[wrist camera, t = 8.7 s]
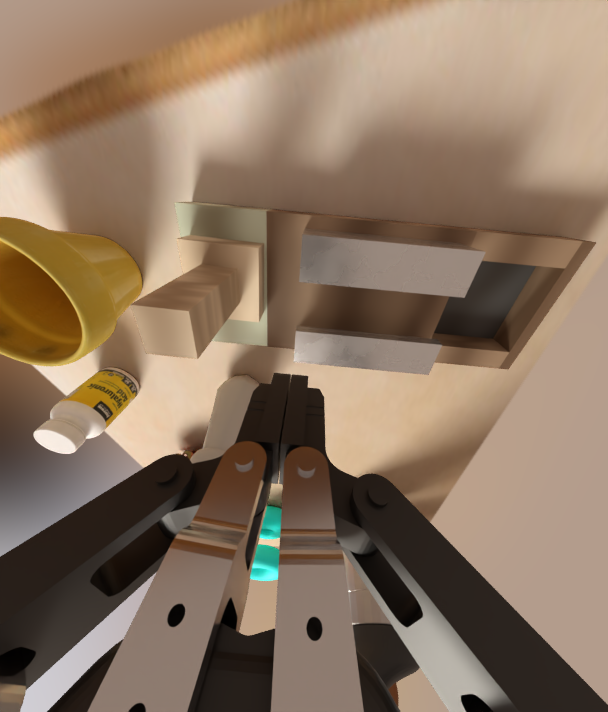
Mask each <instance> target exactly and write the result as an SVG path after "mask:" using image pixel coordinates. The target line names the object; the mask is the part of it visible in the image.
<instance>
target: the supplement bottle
mask: <svg viewBox="0 0 608 712" xmlns="http://www.w3.org/2000/svg"><path fill="white" fill-rule="evenodd" d="M138 393H139V384H138V382H137V381H136V379H135V378H134V377H133V376H131V375H130V374H129V373H127V372H125V371H123V370H121V369H118V368H113V367H109V368H104V369H102V370H100V371H99V372H97V373H96V374H95V375H93V376H92V377H91V378H90V379H88V380H87V381H86V382H84V383H83V384H82V385H81V386H79V387H78V388H77V389H75V390H74V391H73V392H72V393H70V394H69V395H68V396H66V397H65V398H64V399H62V400H61V401H60V402H59V403H57V405H55V406H54V407H53V408H52V410H51V413H50V417H51V419H50V420H48V421H47V422H45V423H44V424H43V425H42V426H40V427H39V428H38V429H37V430H36V431H35V432H34V438H35V439H36V441H37V442H38V443H39V444H41V445H42V446H44V447H45V448H47V449H49V450H51V451H54V452H58V453H63V454H70V453H73V452H75V451H76V450H77V449H78V448H79V447H80V446H81V445H82V444H83V443H84V441H85V440H86V438H93V437H96V436H98V435H100V434H101V433H102V432H103V431H104V430H105V429H106V428H107V427H108V426H109V425H110V424H111V423H112V421H113V420H114V419H115V418H116V417H117V416H118V415H119V414H120V413H121V412H122V411H123V410H124V409H125V408H126V407H127V406H128V405H129V403H130V402H131V401H132V400H133V399H134V398H135V397H136V396H137V394H138Z"/></svg>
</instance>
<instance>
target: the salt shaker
mask: <svg viewBox="0 0 608 712" xmlns="http://www.w3.org/2000/svg"><path fill="white" fill-rule="evenodd" d="M258 386H259V383H258V382H257V381H256V380H254V379H253V378H251V377H250V376H249V375H238V376H233V377H231V378H230V379H228V380H226V381H225V382H224V383H223V384H222V385H221V386H220V387H219V388H218V390H217V394H216V398H215V403H214V407H213V411H212V415H211V419H210V422H209V426H208V430H207V434H206V437H205V441H204V445H203V449H199V450H198V451H197V452H196V453H195V454H194V455H193V456H192V457H191V459H190V461H191V462H192V463H197V462H202V461H207V460H211V459H215V458H217V457H220V456H222V455H223V454H224V453H225V452H226V451H227V449H229V448H230V447H231V446H232V445H234V443H235V441H236V439H237V436H238V433H239V430H240V428H241V425H242V422H243V419H244V416H245V413H246V410H247V407H248V405H249V402H250V399H251V396H252V393H253V391H254V390H255V389H256V388H257V387H258Z"/></svg>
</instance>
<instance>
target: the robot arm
mask: <svg viewBox="0 0 608 712" xmlns="http://www.w3.org/2000/svg"><path fill="white" fill-rule="evenodd" d="M290 380H291V383H290ZM307 386H308V376H302V375H292V377H291V374H280V373H274V375H273V379H272V382H271V384H262V383H261V384H260V385H259V386H258V387H257V388H256V389H255V390H254V391H253V393H252V396H251V399H250V402H249V405H248V407H247V410H246V413H245V416H244V419H243V422H242V425H241V428H240V430H239V433H238V436H237V439H236V441H235V443H234V445H232V446H231V447H230V448H229V449H227V451H226V452H225V453H224V454H223V455H222V456H220V457H217V458H215V459H211V460H207V461H202V462H197V463H192V462H191V461H190V459H189V458H187V457H186V456H183V455H179V454H173V455H168V456H165V457H162V458H160V459H158V460H156V461H155V462H153V463H151V464H150V465H148V466H147V467H145V468H143V469H142V470H140V471H138V472H137V473H135V474H134V475H132V476H130V477H129V478H127V479H126V480H124V481H123V482H121V483H119V484H117V485H116V486H114V487H113V488H111V489H109V490H108V491H106V492H104V493H103V494H101V495H100V496H98V497H96V498H95V499H93V500H92V501H90V502H88V503H87V504H85V505H83V506H82V507H80V508H79V509H77V510H75V511H74V512H72V513H71V514H69V515H67V516H66V517H64V518H62V519H61V520H59V521H58V522H56V523H54V524H53V525H51V526H50V527H48V528H46V529H45V530H43V531H41V532H40V533H39V534H36V535H35V536H33V537H32V538H30V539H29V540H27V541H25V542H24V543H22V544H20V545H19V546H17V547H16V548H14V549H12V550H11V551H9V552H7V553H6V554H4V555H2V556H1V557H0V712H20V709H21V706H22V704H23V700H24V696H25V691H26V689H27V688H29V687H30V686H31V685H32V684H33V683H34V682H35V681H36V680H37V679H38V678H40V677H41V676H42V675H43V674H44V673H45V672H46V671H47V670H49V669H50V668H51V667H52V666H53V665H54V664H55V663H56V662H57V661H58V660H60V659H61V658H62V657H63V656H64V655H65V654H66V653H67V652H68V651H69V650H71V649H72V648H73V647H74V646H75V645H76V644H77V643H78V642H79V641H80V640H82V639H83V638H84V637H85V636H86V635H87V634H88V633H89V632H90V631H91V630H93V629H94V628H95V627H96V626H97V625H98V624H99V623H100V622H102V621H103V620H104V619H105V618H106V617H107V616H108V615H109V614H110V613H111V612H113V611H114V610H115V609H116V608H117V607H118V606H119V605H120V604H121V603H122V602H124V600H126V599H127V598H128V597H129V596H130V595H131V594H132V593H134V592H135V591H136V590H137V589H138V588H139V587H140V586H141V585H142V584H143V583H144V582H146V581H147V580H148V579H149V578H150V577H151V576H152V575H153V574H155V573H156V572H157V573H156V575H155V577H154V579H153V581H152V583H151V585H150V587H149V589H148V591H147V593H146V595H145V597H144V599H143V601H142V603H141V605H140V607H139V610H138V611H137V613H136V615H135V617H134V619H133V621H132V623H131V625H130V627H129V630H128V631H127V634H126V635H125V637H124V639H123V640H121V641H120V642H119V643H118V644H116V645H115V646H113V647H112V648H111V649H110V650H109V651H108V652H107V653H105V654H104V655H103V656H102V657H101V658H100V659H98V660H97V662H95V663H94V664H93V665H92V666H91V667H90V669H88V670H87V671H86V672H85V673H84V674H83V675H82V676H81V678H80V679H79V680H78V681H77V682H76V683H75V684H74V685H73V686H72V687H71V688H70V689H69V690H68V691H67V692H66V693H65V694H64V695H63V696H62V697H61V698H60V699H59V700H58V701H57V702H56V703H55V704H54V705H53V706H52V707H51V708H50V709H49V710H48V711H47V712H400V710H399V708H398V706H397V705H396V703H395V701H394V699H393V697H392V695H391V694H390V692H389V690H388V689H389V688H390V687H391V686H392V685H393V684H394V683H396V682H398V681H399V680H401V679H402V678H404V677H406V676H408V675H410V674H412V673H414V672H416V671H417V670H418V669H419V668H421V670H422V671H423V673H424V674H425V676H426V677H427V679H428V680H429V682H430V683H431V684H432V686H433V688H434V689H435V690H436V692H437V694H438V695H439V697H440V698H441V700H442V701H443V703H444V704H445V706H446V707H447V709H448V710H449V712H608V705H607V704H606V703H605V702H604V701H603V700H602V699H601V698H600V697H599V696H598V695H597V693H595V691H594V690H593V689H592V688H591V687H590V686H589V685H588V684H587V683H586V682H585V681H584V680H583V679H582V678H581V677H580V676H579V675H578V674H577V673H576V672H575V671H574V670H573V669H572V668H571V667H570V666H569V665H568V664H567V663H566V662H565V661H564V660H563V659H562V658H561V657H560V656H559V655H558V653H557V652H556V651H555V650H553V648H552V647H551V646H550V645H549V644H548V643H547V642H546V641H545V640H544V639H543V638H542V637H541V636H540V635H539V634H538V633H537V632H536V631H535V630H534V629H533V628H532V627H531V626H530V625H529V624H528V623H527V622H526V621H525V620H524V619H523V618H522V617H521V616H520V614H519V613H518V612H517V611H515V610H514V608H513V607H512V606H511V605H510V604H509V603H508V602H507V601H506V600H505V599H504V598H503V597H502V596H501V595H500V594H499V593H498V592H497V591H496V590H495V589H494V588H493V587H492V586H491V585H490V584H489V583H488V582H487V581H486V580H485V578H483V577H482V576H481V574H480V573H479V572H478V571H476V569H475V568H474V567H473V566H472V565H471V564H470V563H469V562H468V561H467V560H466V559H465V558H464V557H463V556H462V555H461V554H460V553H459V552H458V551H457V550H456V549H455V548H454V547H453V546H452V545H451V544H450V543H449V542H448V540H446V539H445V538H444V536H443V535H442V534H441V533H440V532H439V531H438V530H437V529H436V528H435V527H434V526H433V525H432V524H431V523H430V522H429V521H428V520H427V519H426V518H425V517H424V516H423V515H422V514H421V513H420V512H419V511H418V510H417V509H416V508H415V507H414V506H413V505H412V504H411V502H410V501H409V500H408V499H407V498H406V497H405V496H404V495H403V494H402V493H401V492H400V491H399V490H398V489H397V488H396V487H395V486H394V485H393V484H392V483H391V482H390V481H388V480H387V479H386V478H384V477H382V476H379V475H376V474H365V475H362V476H361V477H359V478H356V477H354V476H352V475H349V474H347V473H345V472H343V471H341V470H339V469H337V468H336V467H335V466H334V465H333V464H332V463H331V462H330V460H329V459H328V457H327V454H326V450H325V417H324V415H325V414H324V396H323V395H322V393H321V391H320V390H319V389H316V388H307ZM279 470H280V480H279V484H283V493H282V511H281V530H280V549H279V568H278V587H277V588H278V589H277V605H276V625H275V629H272V630H268V631H265V632H261V633H258V634H255V635H250V636H246V635H243V634H241V633H239V630H240V625H241V621H242V617H243V613H244V608H245V604H246V600H247V594H248V589H249V581H250V575H251V570H252V566H253V561H254V557H255V553H256V549H257V545H258V541H259V537H260V533H261V529H262V525H263V520H264V516H265V512H266V508H267V503H268V499H269V494H270V488H271V483H275V484H278V477H279Z"/></svg>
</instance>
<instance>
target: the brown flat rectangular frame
mask: <svg viewBox="0 0 608 712" xmlns="http://www.w3.org/2000/svg"><path fill="white" fill-rule="evenodd" d="M174 204H175V210H176V215H177V220H178V226H179V231H180V236H181V237H184V236H188V235H196V236H205V237H213V238H222V239H231V240H239V241H248V242H256V243H264V313H263V315H262V317H261V319H260V322H250V321H241V320H232V319H227V321H226V322H225V323H224V325H223V326H222V327H221V329H220V330H219V331H218V333H217V334H216V335H215V337H214V338H213V339H212V341H216V342H227V343H237V344H248V345H258V346H269V347H279V348H290V349H295V336H296V327H297V326H306V327H317V328H327V329H338V330H348V331H359V332H369V333H380V334H390V335H401V336H411V337H422V338H432V339H438V340H439V342H440V343H441V344H442V347H441V349H440V351H439V353H438V355H437V358H436V360H435V362H436V363H447V364H457V365H468V366H478V367H489V368H499V369H509V368H510V366H511V365H512V363H513V362H514V361H515V359H516V358H517V356H518V355H519V353H520V352H521V350H522V349H523V348H524V346H525V345H526V343H527V342H528V340H529V339H530V337H531V336H532V335H533V333H534V332H535V330H536V329H537V327H538V326H539V325H540V323H541V322H542V320H543V319H544V317H545V316H546V314H547V313H548V312H549V310H550V309H551V307H552V306H553V304H554V303H555V301H556V300H557V299H558V297H559V296H560V294H561V293H562V291H563V290H564V288H565V287H566V286H567V284H568V283H569V281H570V280H571V278H572V277H573V276H574V274H575V273H576V271H577V270H578V268H579V267H580V265H581V264H582V263H583V261H584V260H585V258H586V257H587V255H588V254H589V252H590V251H591V250H592V248H593V247H594V245H595V244H596V242H590V241H584V240H578V239H572V238H566V237H557V236H547V235H536V234H526V233H515V232H505V231H494V230H483V229H473V228H462V227H452V226H441V225H431V224H420V223H410V222H399V221H389V220H378V219H368V218H357V217H347V216H336V215H326V214H315V213H305V212H294V211H284V210H273V209H263V208H252V207H242V206H231V205H221V204H210V203H200V202H174ZM305 228H307V229H317V230H328V231H338V232H349V233H359V234H370V235H380V236H391V237H401V238H412V239H422V240H433V241H443V242H454V243H461V244H464V245H467V246H470V247H473V248H476V249H479V250H482V251H485V252H486V253H485V255H484V257H483V259H482V262H481V264H480V266H479V268H478V270H477V272H476V274H475V276H474V279H473V281H472V283H471V285H470V287H469V289H468V291H467V294H466V296H465V298H462V297H451V296H441V295H430V294H420V293H409V292H399V291H388V290H378V289H367V288H357V287H346V286H336V285H325V284H315V283H304V282H299V276H300V261H301V247H302V234H303V232H304V230H305Z"/></svg>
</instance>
